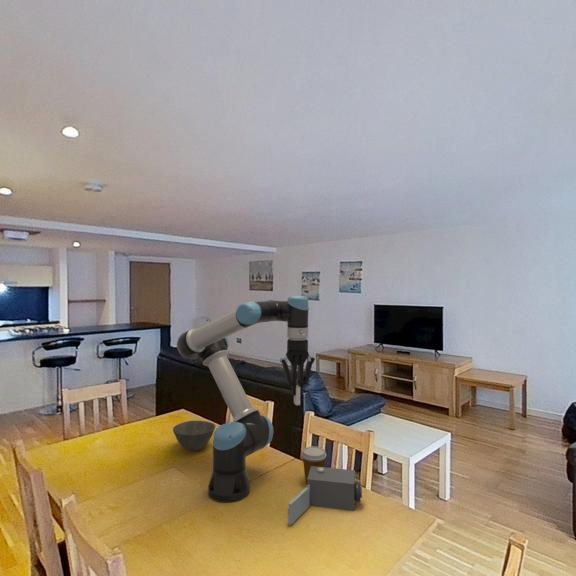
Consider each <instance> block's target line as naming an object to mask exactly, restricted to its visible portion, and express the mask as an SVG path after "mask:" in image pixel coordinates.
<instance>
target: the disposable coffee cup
mask: <svg viewBox="0 0 576 576" xmlns="http://www.w3.org/2000/svg"><path fill="white" fill-rule="evenodd" d="M326 457H327V452H326V449H324V448H322V447H320V446H314V445H313V446H306V447H304V448H303V450H302V452H301V458H302V463H303V472H304V480H305V481H304V482H305V483H306V485H307V478H308V474H309V471H310V468H311V466H316V467H325V463H326V461H325V460H326Z"/></svg>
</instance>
